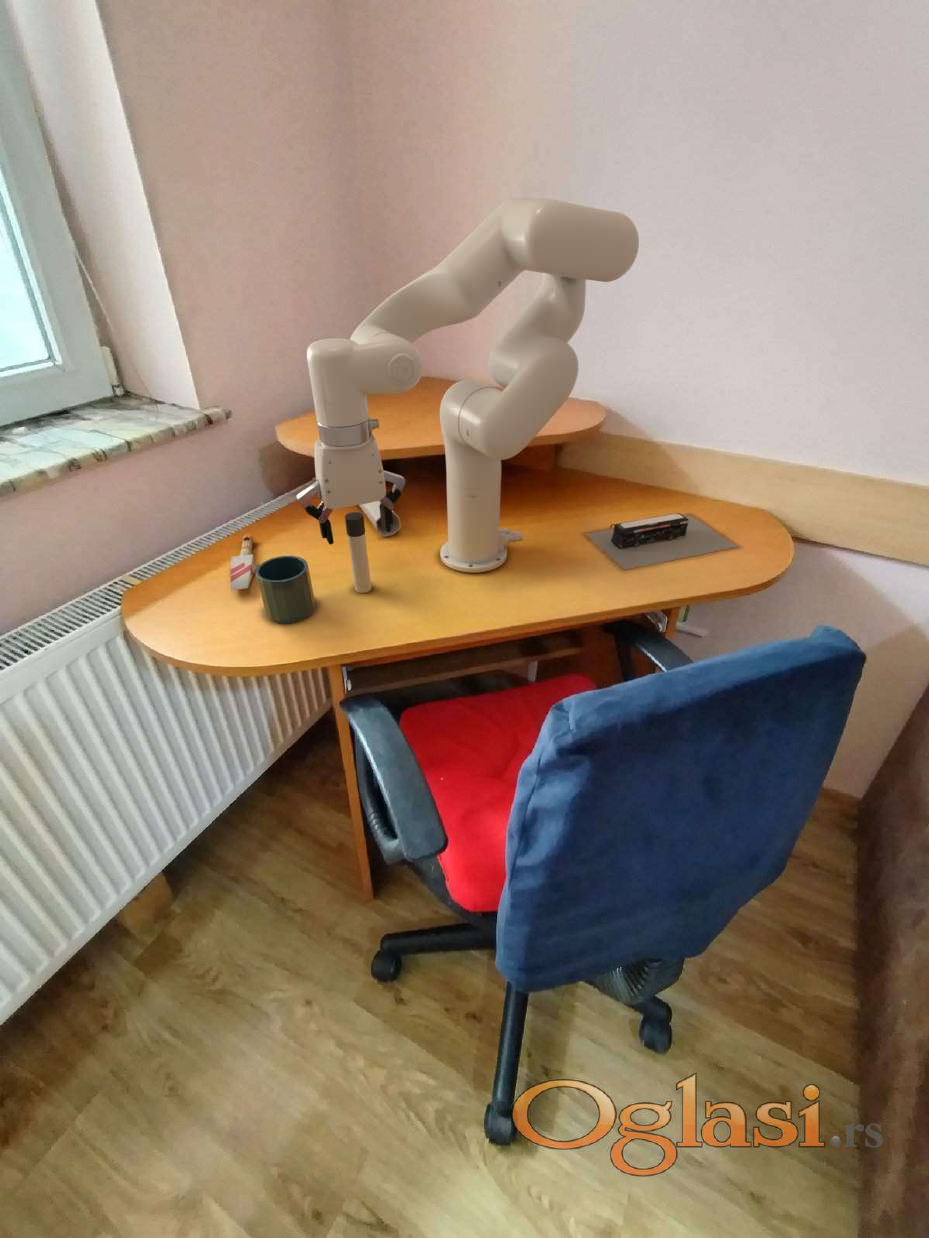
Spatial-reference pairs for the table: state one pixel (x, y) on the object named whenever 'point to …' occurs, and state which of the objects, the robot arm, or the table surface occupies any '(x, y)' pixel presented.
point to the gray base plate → (658, 540)
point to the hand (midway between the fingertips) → (358, 534)
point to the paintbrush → (243, 565)
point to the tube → (374, 516)
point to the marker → (358, 551)
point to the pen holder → (286, 589)
